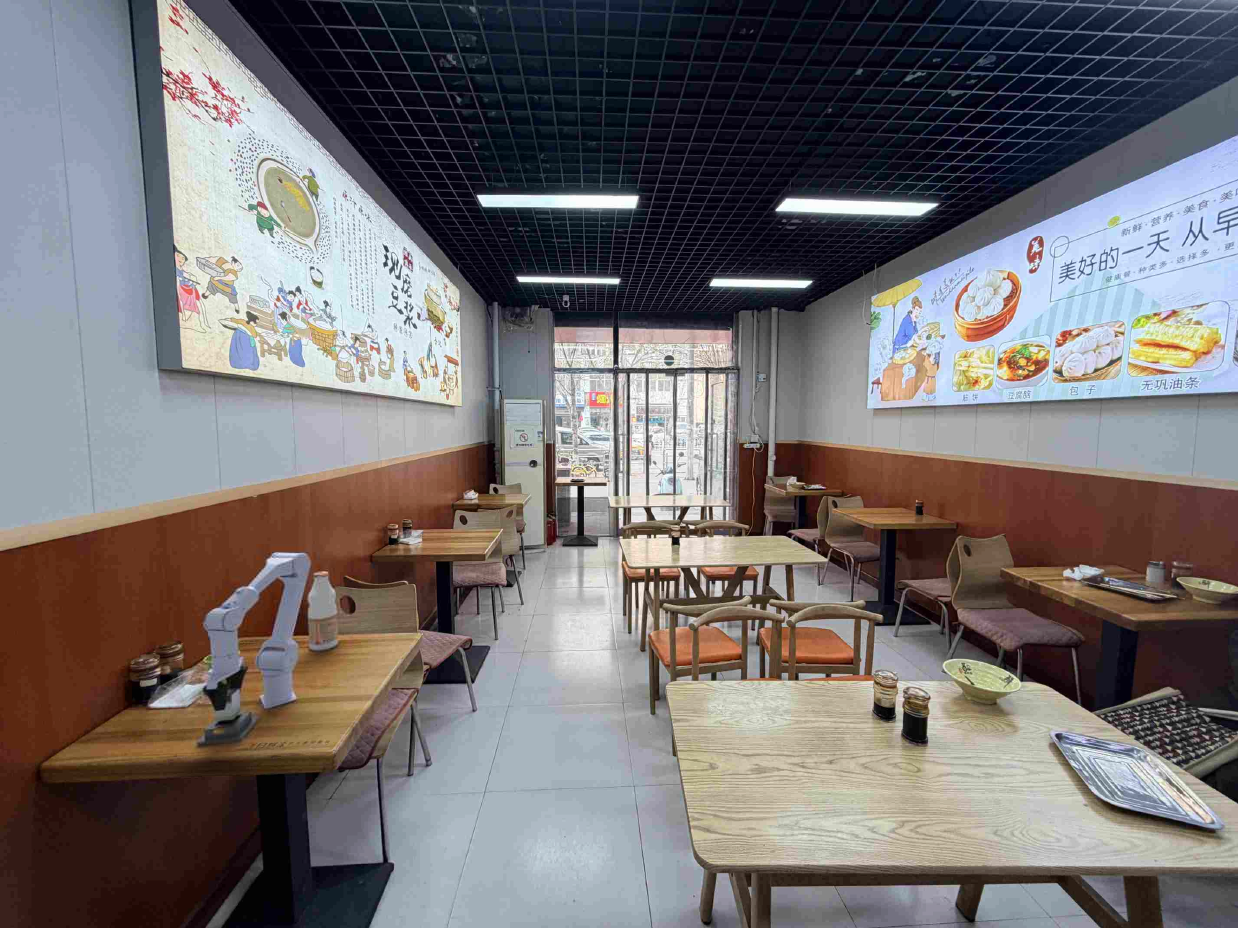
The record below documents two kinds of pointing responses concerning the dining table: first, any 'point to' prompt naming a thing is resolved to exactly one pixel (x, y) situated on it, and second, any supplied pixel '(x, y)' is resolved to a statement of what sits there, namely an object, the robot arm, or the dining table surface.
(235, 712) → the post
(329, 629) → the fruit juice
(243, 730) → the stand base
